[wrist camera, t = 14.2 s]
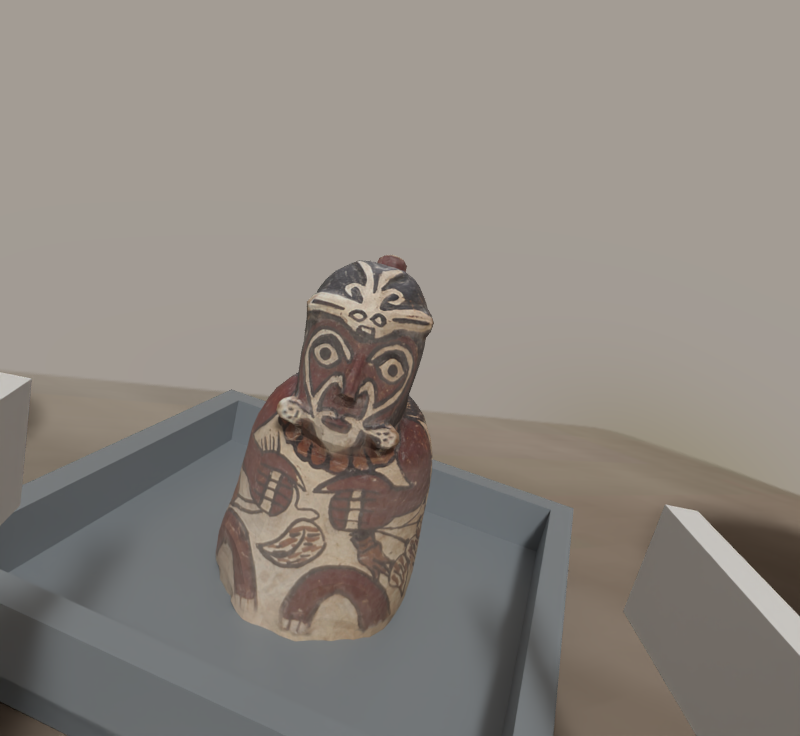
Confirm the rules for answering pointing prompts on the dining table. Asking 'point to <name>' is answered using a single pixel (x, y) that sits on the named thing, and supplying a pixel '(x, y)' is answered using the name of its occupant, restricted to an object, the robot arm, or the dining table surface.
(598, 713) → the dining table surface
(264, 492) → the figurine
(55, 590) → the tray
